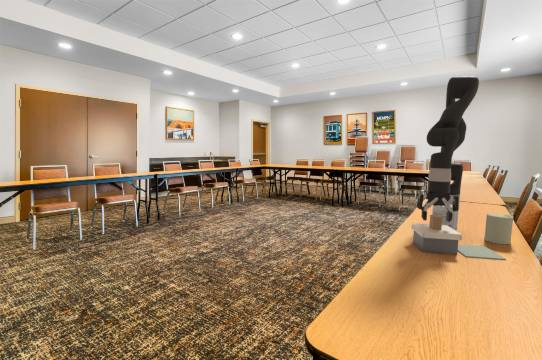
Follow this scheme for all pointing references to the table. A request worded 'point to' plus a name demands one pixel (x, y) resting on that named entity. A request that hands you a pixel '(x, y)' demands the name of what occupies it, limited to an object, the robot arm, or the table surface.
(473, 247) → the mat
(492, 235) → the can
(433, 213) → the supplement tub
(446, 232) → the lid
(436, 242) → the box
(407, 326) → the table surface
